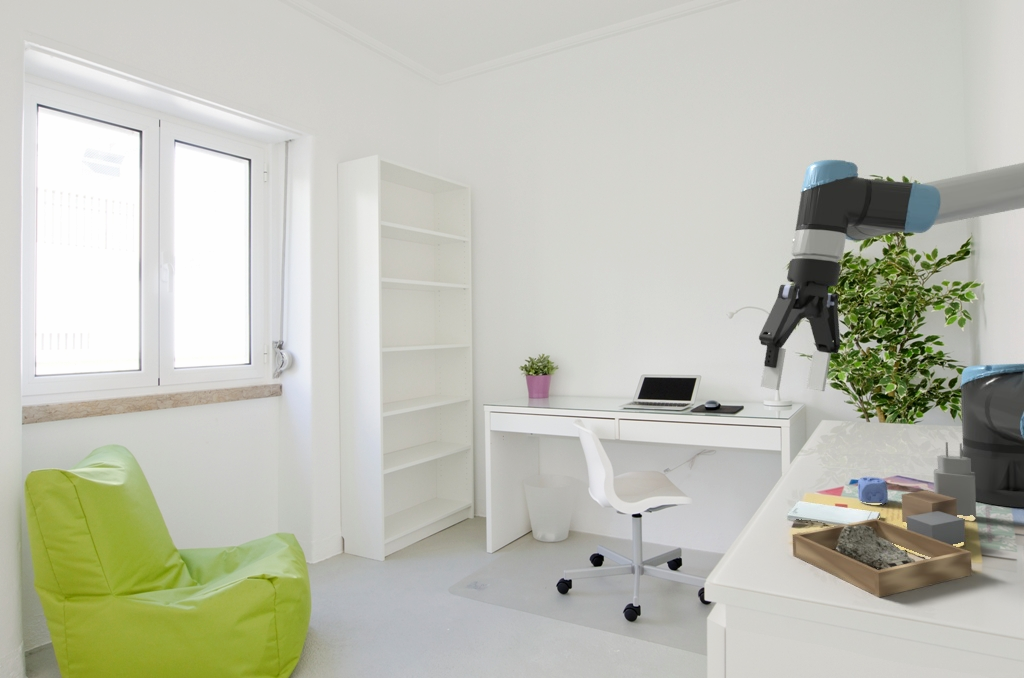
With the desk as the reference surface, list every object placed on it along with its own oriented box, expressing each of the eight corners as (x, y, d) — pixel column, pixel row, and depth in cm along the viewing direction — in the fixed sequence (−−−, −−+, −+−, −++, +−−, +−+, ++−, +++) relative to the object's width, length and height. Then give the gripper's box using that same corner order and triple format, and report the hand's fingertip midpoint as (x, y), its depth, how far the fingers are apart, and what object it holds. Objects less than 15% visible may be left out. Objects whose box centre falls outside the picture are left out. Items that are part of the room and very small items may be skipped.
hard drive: (786, 513, 103) (873, 526, 95) (798, 500, 109) (880, 510, 102) (787, 523, 103) (873, 536, 95) (798, 509, 109) (880, 520, 102)
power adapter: (935, 511, 103) (933, 439, 103) (976, 516, 100) (974, 442, 100) (934, 516, 101) (932, 443, 100) (976, 521, 98) (974, 446, 97)
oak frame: (876, 538, 93) (875, 518, 93) (971, 575, 80) (971, 551, 80) (793, 555, 89) (792, 534, 89) (879, 597, 75) (878, 572, 75)
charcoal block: (938, 537, 93) (938, 510, 93) (965, 546, 89) (964, 519, 89) (907, 543, 91) (906, 516, 91) (932, 553, 87) (932, 525, 87)
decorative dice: (858, 498, 112) (857, 476, 112) (883, 499, 111) (883, 477, 110) (861, 505, 108) (860, 482, 108) (888, 506, 107) (887, 483, 107)
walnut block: (926, 521, 99) (925, 490, 99) (957, 531, 95) (956, 498, 94) (902, 525, 98) (901, 494, 98) (932, 536, 93) (931, 503, 93)
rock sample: (914, 563, 75) (869, 501, 82) (859, 593, 79) (820, 531, 85) (945, 575, 81) (900, 517, 87) (892, 604, 84) (853, 545, 91)
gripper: (832, 268, 111) (812, 385, 113) (749, 247, 97) (727, 382, 98) (876, 270, 105) (854, 394, 107) (794, 249, 90) (770, 392, 92)
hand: (793, 389), depth 102 cm, fingers open, 13 cm apart
